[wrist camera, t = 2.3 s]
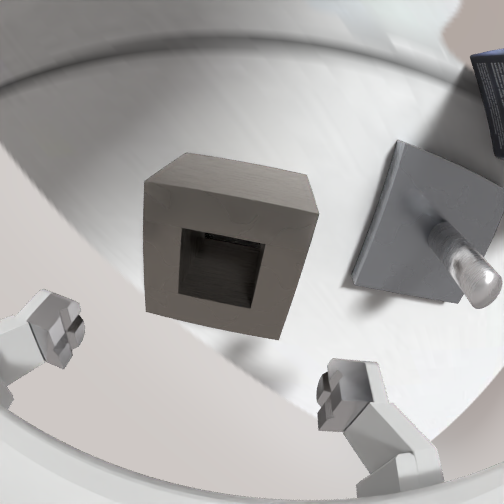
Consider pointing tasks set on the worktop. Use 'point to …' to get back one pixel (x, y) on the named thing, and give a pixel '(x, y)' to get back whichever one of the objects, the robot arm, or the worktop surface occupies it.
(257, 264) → the collar
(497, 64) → the small box
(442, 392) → the worktop surface
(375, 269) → the shaft stand
